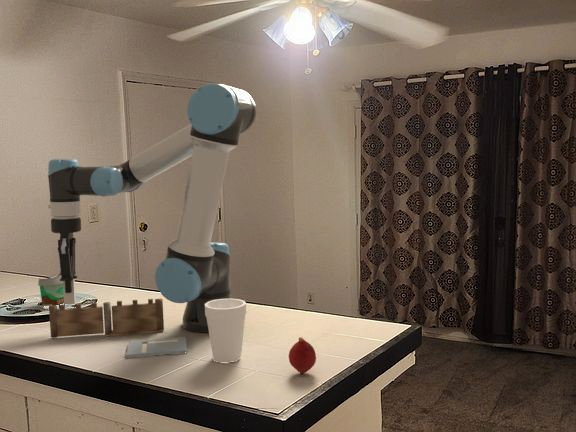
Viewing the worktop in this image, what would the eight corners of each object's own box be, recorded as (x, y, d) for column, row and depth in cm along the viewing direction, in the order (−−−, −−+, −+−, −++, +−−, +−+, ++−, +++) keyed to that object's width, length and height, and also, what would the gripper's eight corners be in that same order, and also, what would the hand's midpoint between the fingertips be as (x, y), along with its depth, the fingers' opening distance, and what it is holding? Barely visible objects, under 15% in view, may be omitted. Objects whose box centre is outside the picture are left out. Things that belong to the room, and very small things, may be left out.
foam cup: (227, 349, 142) (225, 296, 141) (255, 357, 136) (254, 302, 135) (198, 360, 135) (196, 305, 133) (226, 369, 129) (224, 311, 127)
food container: (58, 311, 178) (55, 279, 177) (39, 311, 180) (37, 279, 179) (80, 301, 190) (78, 271, 189) (62, 300, 192) (61, 270, 191)
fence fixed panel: (164, 327, 160) (162, 296, 159) (163, 332, 156) (162, 300, 155) (105, 332, 157) (104, 300, 156) (104, 336, 153) (102, 304, 152)
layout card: (185, 340, 149) (185, 336, 149) (186, 353, 140) (186, 349, 140) (129, 344, 147) (129, 340, 147) (126, 358, 137) (126, 354, 137)
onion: (315, 368, 129) (314, 332, 128) (317, 378, 123) (316, 341, 122) (288, 368, 128) (287, 333, 128) (289, 379, 123) (288, 342, 122)
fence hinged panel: (104, 331, 156) (102, 301, 155) (103, 333, 154) (101, 303, 153) (51, 335, 154) (49, 304, 153) (50, 337, 152) (48, 306, 151)
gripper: (55, 214, 162) (59, 298, 164) (45, 220, 149) (50, 310, 152) (84, 214, 163) (87, 296, 166) (76, 219, 150) (80, 309, 153)
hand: (69, 303), depth 159 cm, fingers closed
